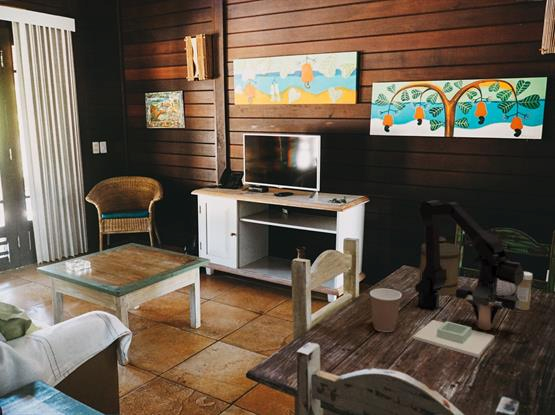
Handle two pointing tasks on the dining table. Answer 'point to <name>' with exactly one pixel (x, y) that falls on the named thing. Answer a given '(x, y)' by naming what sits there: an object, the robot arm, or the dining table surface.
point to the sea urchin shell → (505, 288)
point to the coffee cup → (385, 308)
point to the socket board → (454, 337)
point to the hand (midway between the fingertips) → (484, 321)
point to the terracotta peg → (485, 316)
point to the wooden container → (445, 265)
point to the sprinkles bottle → (524, 291)
